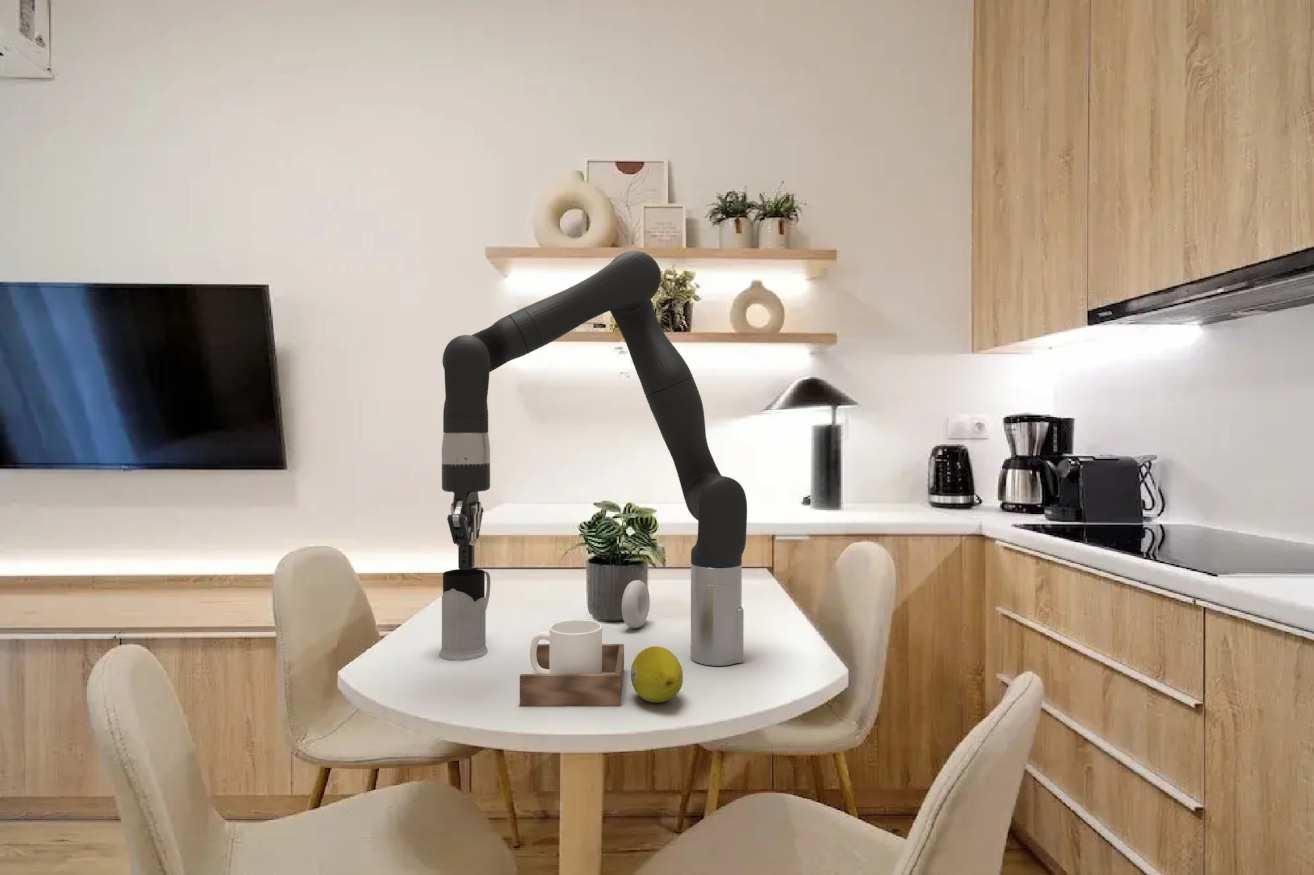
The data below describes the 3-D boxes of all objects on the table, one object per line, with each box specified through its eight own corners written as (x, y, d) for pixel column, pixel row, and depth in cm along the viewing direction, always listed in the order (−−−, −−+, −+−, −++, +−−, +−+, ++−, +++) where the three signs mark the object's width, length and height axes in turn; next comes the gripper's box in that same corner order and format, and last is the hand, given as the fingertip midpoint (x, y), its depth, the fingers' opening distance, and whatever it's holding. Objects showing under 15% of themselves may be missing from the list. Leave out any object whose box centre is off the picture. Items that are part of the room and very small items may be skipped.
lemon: (627, 689, 108) (627, 639, 108) (675, 687, 110) (676, 637, 110) (635, 717, 98) (635, 661, 98) (688, 714, 99) (688, 659, 99)
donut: (637, 621, 149) (637, 575, 149) (652, 622, 148) (652, 576, 148) (618, 633, 140) (618, 584, 140) (633, 635, 138) (634, 585, 138)
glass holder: (429, 658, 123) (429, 575, 123) (469, 636, 137) (469, 562, 137) (473, 662, 121) (473, 578, 121) (509, 639, 135) (509, 564, 135)
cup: (591, 702, 103) (591, 635, 103) (518, 695, 106) (518, 630, 106) (608, 683, 111) (608, 621, 111) (540, 677, 114) (540, 616, 114)
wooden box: (624, 670, 117) (624, 644, 117) (620, 705, 102) (620, 675, 102) (536, 670, 117) (537, 644, 117) (519, 706, 102) (519, 675, 102)
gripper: (479, 462, 103) (479, 577, 103) (498, 459, 116) (498, 561, 116) (429, 463, 103) (430, 577, 103) (454, 460, 116) (454, 561, 116)
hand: (466, 568), depth 110 cm, fingers closed
